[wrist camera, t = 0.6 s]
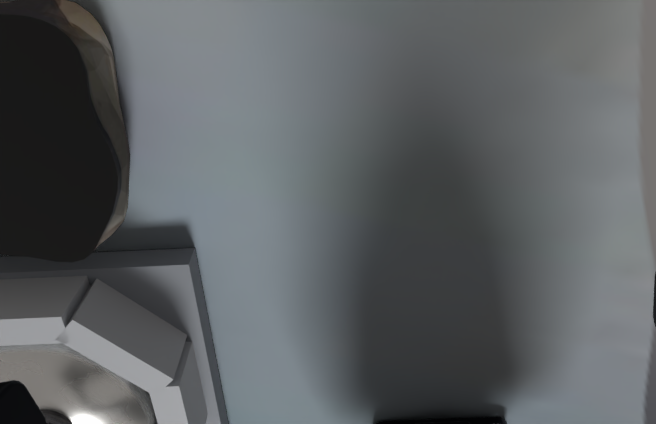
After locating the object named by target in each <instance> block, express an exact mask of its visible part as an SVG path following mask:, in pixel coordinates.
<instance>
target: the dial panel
mask: <svg viewBox="0 0 656 424" xmlns="http://www.w3.org/2000/svg"><path fill="white" fill-rule="evenodd" d="M57 343H63V344H65V345H66V346H68V347H70V348H72V349H73V350H75V351H77V352H79V353H80V354H82V355H84V356H86V357H87V358H89V359H91V360H93V361H94V362H96V363H98V364H100V365H101V366H103V367H105V368H107V369H108V370H110V371H112V372H114V373H115V374H117V375H119V376H121V377H122V378H124V379H126V380H128V381H129V382H131V383H133V384H135V385H136V386H138V387H140V388H142V389H143V390H145V391H147V392H149V394H150V397H151V401H152V404H153V408H154V412H155V415H156V419H157V421H156V424H229V423H228V418H227V413H226V407H225V402H224V397H223V392H222V386H221V381H220V376H219V371H218V366H217V360H216V355H215V350H214V345H213V340H212V334H211V329H210V324H209V319H208V313H207V308H206V303H205V298H204V293H203V287H202V282H201V277H200V272H199V266H198V261H197V256H196V251H195V248H181V249H160V250H138V251H116V252H94V253H91V254H90V255H89V256H88V257H86V258H85V259H83V260H80V261H76V262H56V261H50V260H44V259H39V258H33V257H27V256H6V257H0V346H10V345H34V344H57Z"/></svg>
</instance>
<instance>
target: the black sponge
mask: <svg viewBox="0 0 656 424" xmlns="http://www.w3.org/2000/svg"><path fill="white" fill-rule="evenodd" d="M129 169H130V152H129V144H128V138H127V134H126V130H125V126H124V121H123V117H122V112H121V108H120V103H119V94H118V84H117V76H116V69H115V62H114V57H113V53H112V49H111V46H110V44H109V42H108V39H107V37H106V35H105V33H104V31H103V30H102V28H101V26H100V24H99V23H98V22H97V21H96V19H95V18H94V17H93V16H92V15H91V13H89V12H88V11H87V10H85V9H84V8H82V7H81V6H80V5H78V4H77V3H75V2H71V1H68V0H16V1H12V2H0V254H5V255H11V256H27V257H33V258H39V259H44V260H50V261H56V262H76V261H80V260H83V259H85V258H86V257H88V256H89V255H90V254H91V253H93V252H94V251H95V249H96V248H97V247H98V246H99V245H100V244H101V243H103V242H104V241H105V240H106V239H108V238H109V237H110V236H111V235H112V234H113V233H114V232H115V231H116V230H117V228H118V227H119V226H120V225H121V224H122V223H123V221H124V218H125V215H126V211H127V207H128V194H129Z"/></svg>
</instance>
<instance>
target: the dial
mask: <svg viewBox="0 0 656 424" xmlns="http://www.w3.org/2000/svg"><path fill="white" fill-rule="evenodd" d="M11 380H16V381H20V382H21V383H23V384H24V385H25V386H26V388H27V389H28V391H29V393H30V394H31V396H32V397H33V399H34V401H35V402H36V404H37V405H38V407H39V409H40V410H41V412H42V413H43V415H44V417H45V419H46V422H47V424H156V421H157V419H156V415H155V412H154V408H153V404H152V401H151V397H150V394H149V392H147V391H145V390H143V389H142V388H140V387H138V386H136V385H135V384H133V383H131V382H129V381H128V380H126V379H124V378H122V377H121V376H119V375H117V374H115V373H114V372H112V371H110V370H108V369H107V368H105V367H103V366H101V365H100V364H98V363H96V362H94V361H93V360H91V359H89V358H87V357H86V356H84V355H82V354H80V353H79V352H77V351H75V350H73V349H72V348H70V347H68V346H66V345H65V344H63V343H57V344H34V345H10V346H0V382H5V381H11Z"/></svg>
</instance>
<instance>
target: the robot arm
mask: <svg viewBox="0 0 656 424" xmlns="http://www.w3.org/2000/svg"><path fill="white" fill-rule="evenodd" d="M653 318H654V323H655V327H656V273H655V284H654V306H653ZM0 424H47V422H46V419H45V417H44V415H43V413H42V412H41V410H40V409H39V407H38V405H37V404H36V402H35V401H34V399H33V397H32V396H31V394H30V393H29V391H28V389H27V388H26V386H25V385H24V384H23V383H21V382H20V381H16V380H11V381H5V382H0ZM377 424H507V422H506V420H505V419H503V418H501V417H485V418H459V419H434V420H409V421H383V422H379V423H377Z"/></svg>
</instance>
